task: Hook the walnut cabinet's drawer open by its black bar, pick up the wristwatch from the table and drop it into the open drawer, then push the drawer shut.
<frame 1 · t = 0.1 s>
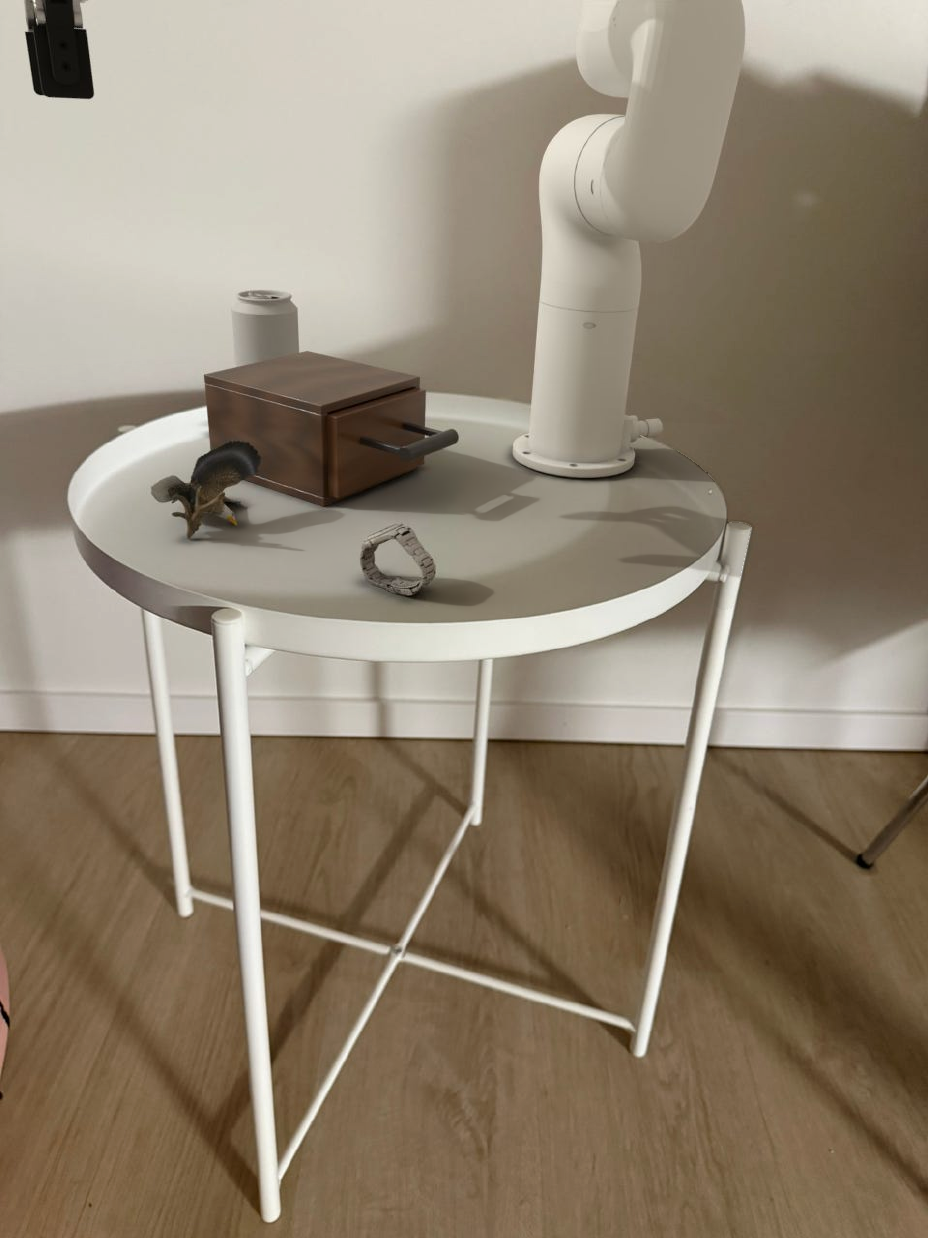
hand: (63, 96, 67), 31 cm above the table, tool pointing down, fingers open, 9 cm apart
drawer: (352, 433, 89), point 5 cm above the table, slide at 0.0 cm, touching cabinet
cabinet: (316, 468, 93), on the table
can: (269, 398, 115), on the table
eagle figurine: (213, 523, 81), on the table
wristwatch: (395, 591, 71), on the table
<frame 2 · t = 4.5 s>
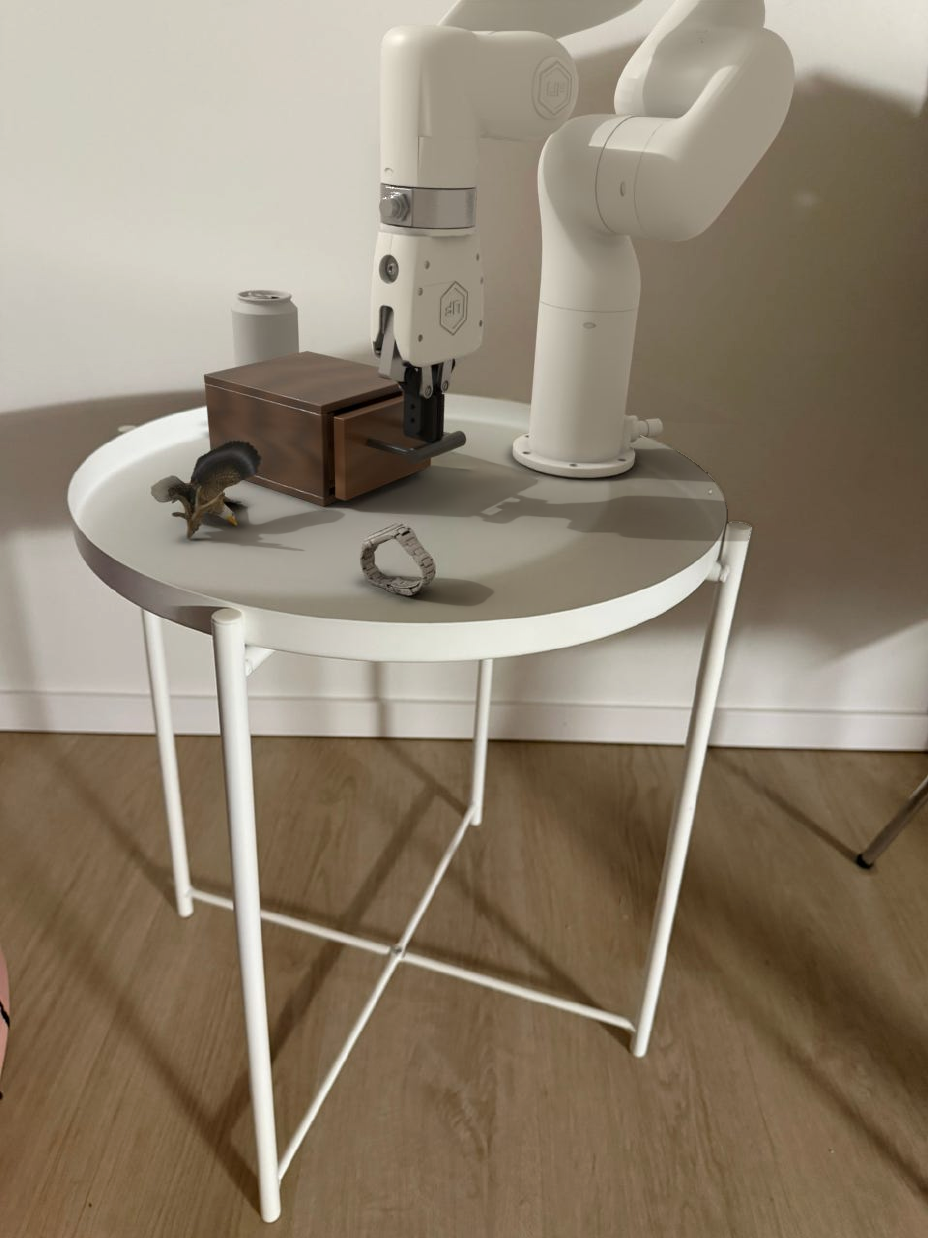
hand: (423, 437, 84), 6 cm above the table, tool pointing down, fingers closed
drawer: (358, 435, 88), point 5 cm above the table, slide at 0.8 cm, touching gripper
everything else where it was.
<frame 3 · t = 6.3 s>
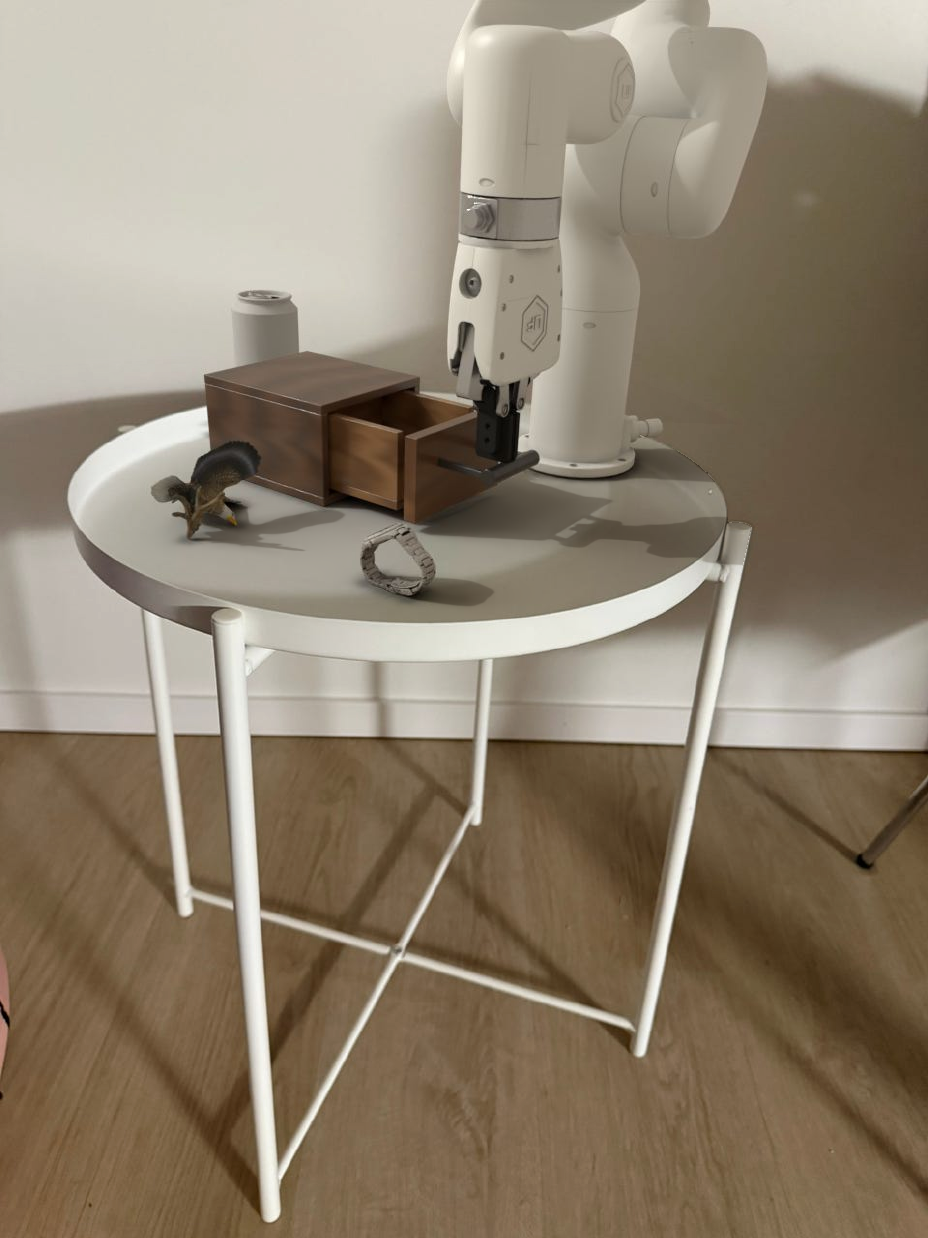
hand: (496, 457, 80), 6 cm above the table, tool pointing down, fingers closed
drawer: (425, 454, 85), point 5 cm above the table, slide at 8.6 cm, touching gripper
everything else where it was.
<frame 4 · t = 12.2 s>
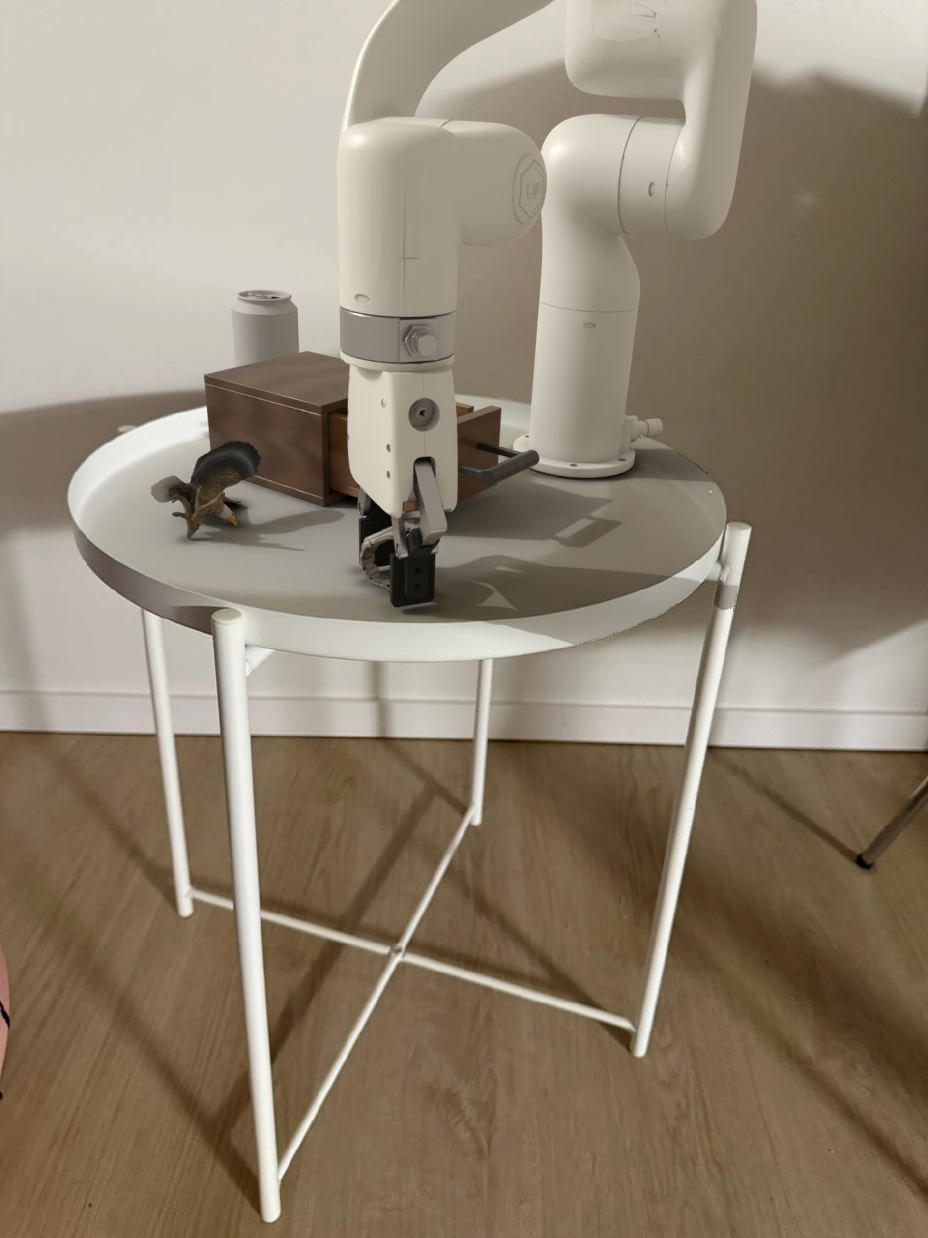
hand: (395, 581, 71), 1 cm above the table, tool pointing down, fingers closed on wristwatch, 5 cm apart
drawer: (424, 453, 85), point 5 cm above the table, slide at 8.5 cm
wristwatch: (395, 591, 71), on the table, touching gripper
everything else where it was.
when the fingers open (8 cm above the table, at t = 18.3 s): wristwatch drops 4 cm, resting on drawer.
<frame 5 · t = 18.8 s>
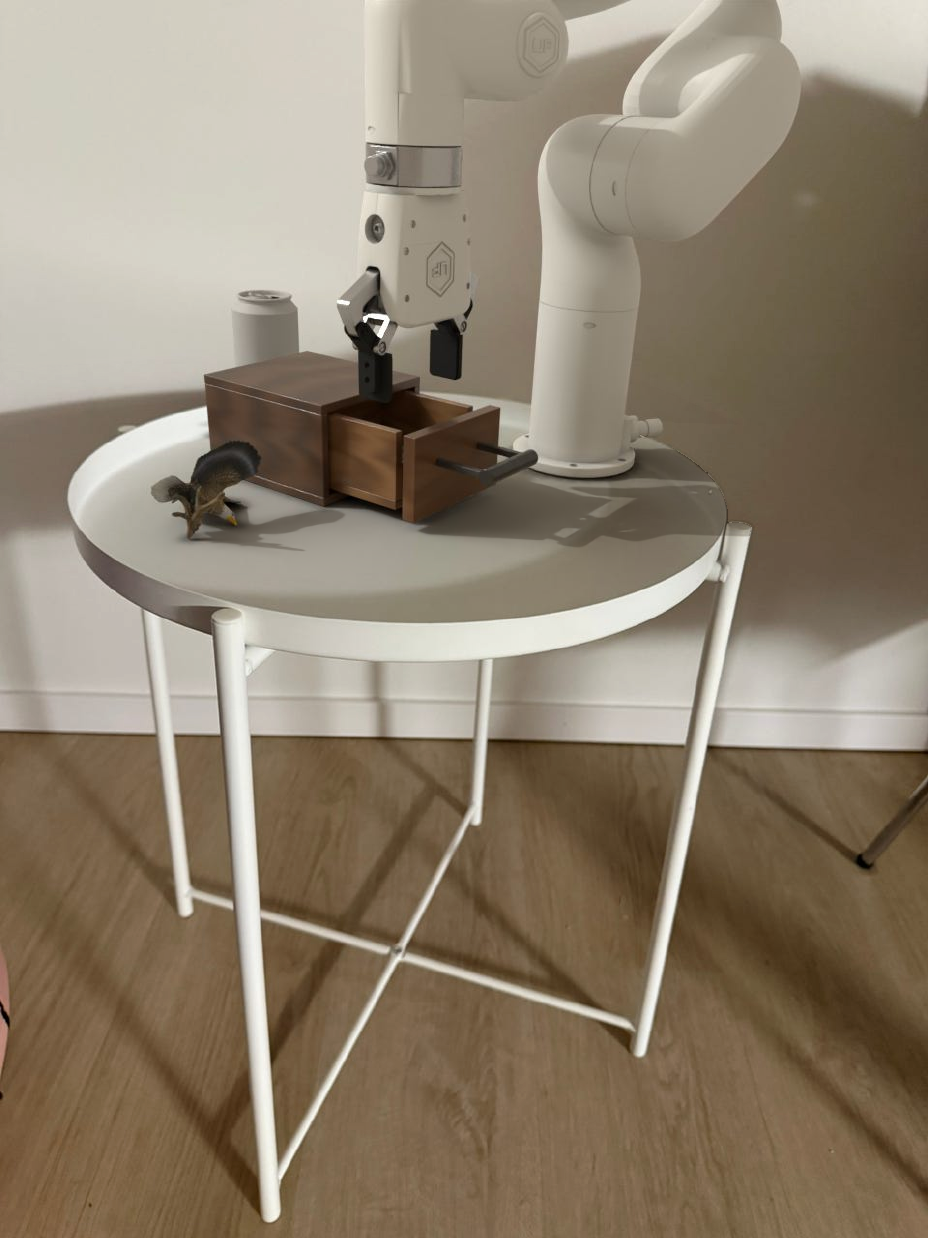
hand: (411, 387, 83), 10 cm above the table, tool pointing down, fingers open, 9 cm apart
drawer: (423, 453, 85), point 5 cm above the table, slide at 8.4 cm, touching wristwatch
wristwatch: (405, 468, 86), point 3 cm above the table, touching drawer
everything else where it was.
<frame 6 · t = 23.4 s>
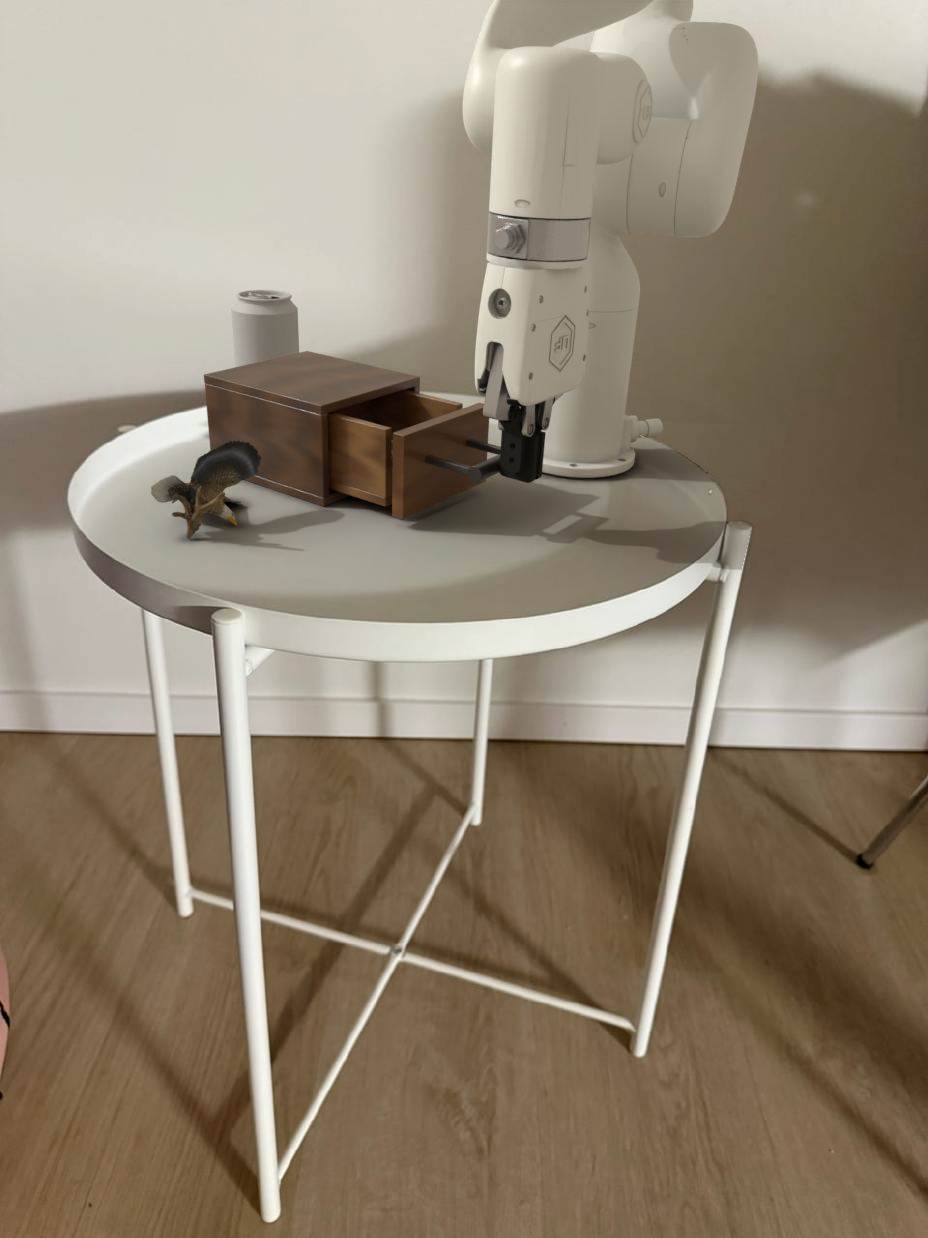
hand: (520, 476, 79), 5 cm above the table, tool pointing down, fingers closed
drawer: (413, 450, 85), point 5 cm above the table, slide at 7.3 cm, touching gripper, wristwatch
wristwatch: (395, 463, 87), point 3 cm above the table, touching drawer
everything else where it was.
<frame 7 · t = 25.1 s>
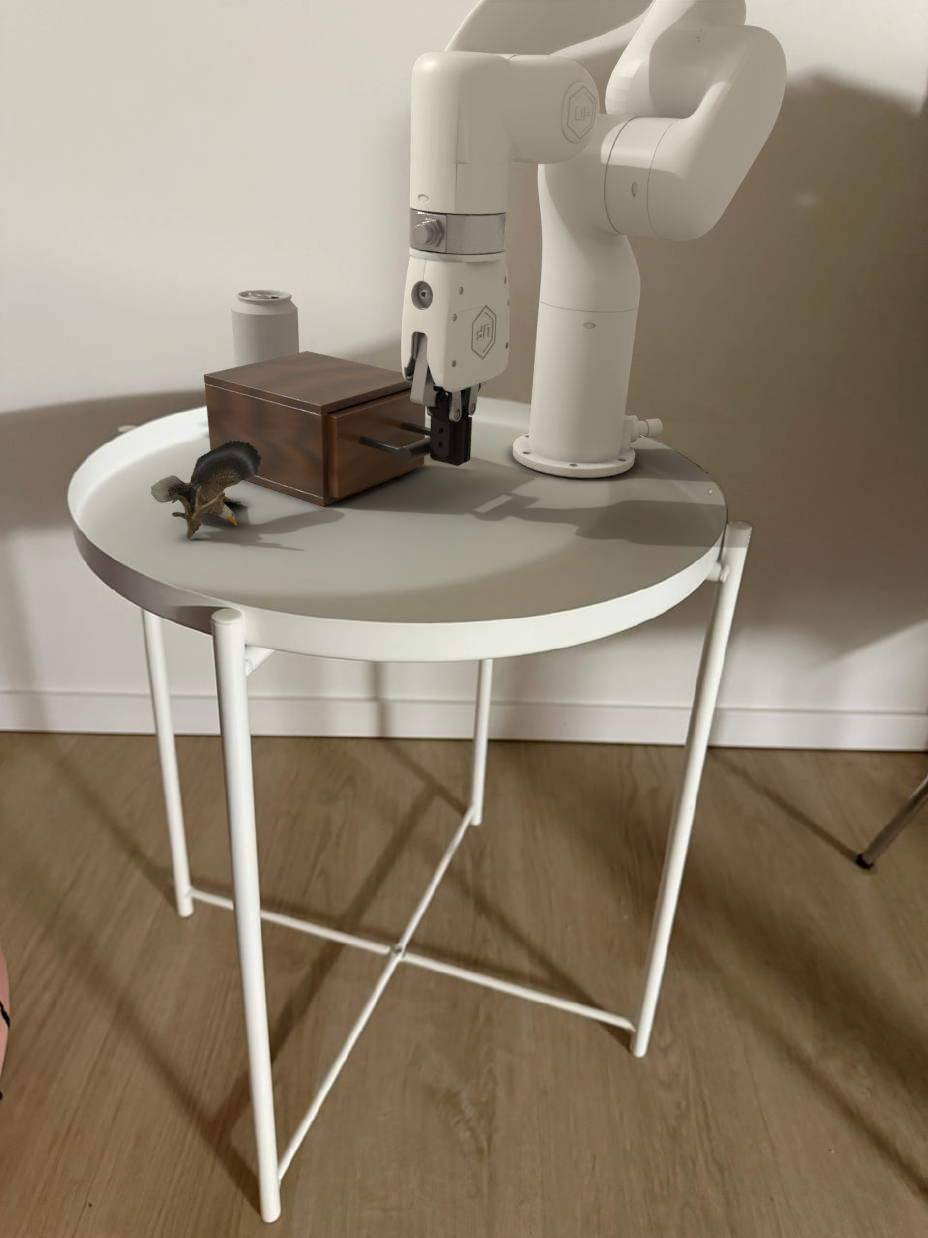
hand: (449, 460, 83), 5 cm above the table, tool pointing down, fingers closed
drawer: (352, 433, 89), point 5 cm above the table, slide at 0.0 cm, touching cabinet, gripper, wristwatch
wristwatch: (335, 446, 90), point 3 cm above the table, touching drawer
everything else where it was.
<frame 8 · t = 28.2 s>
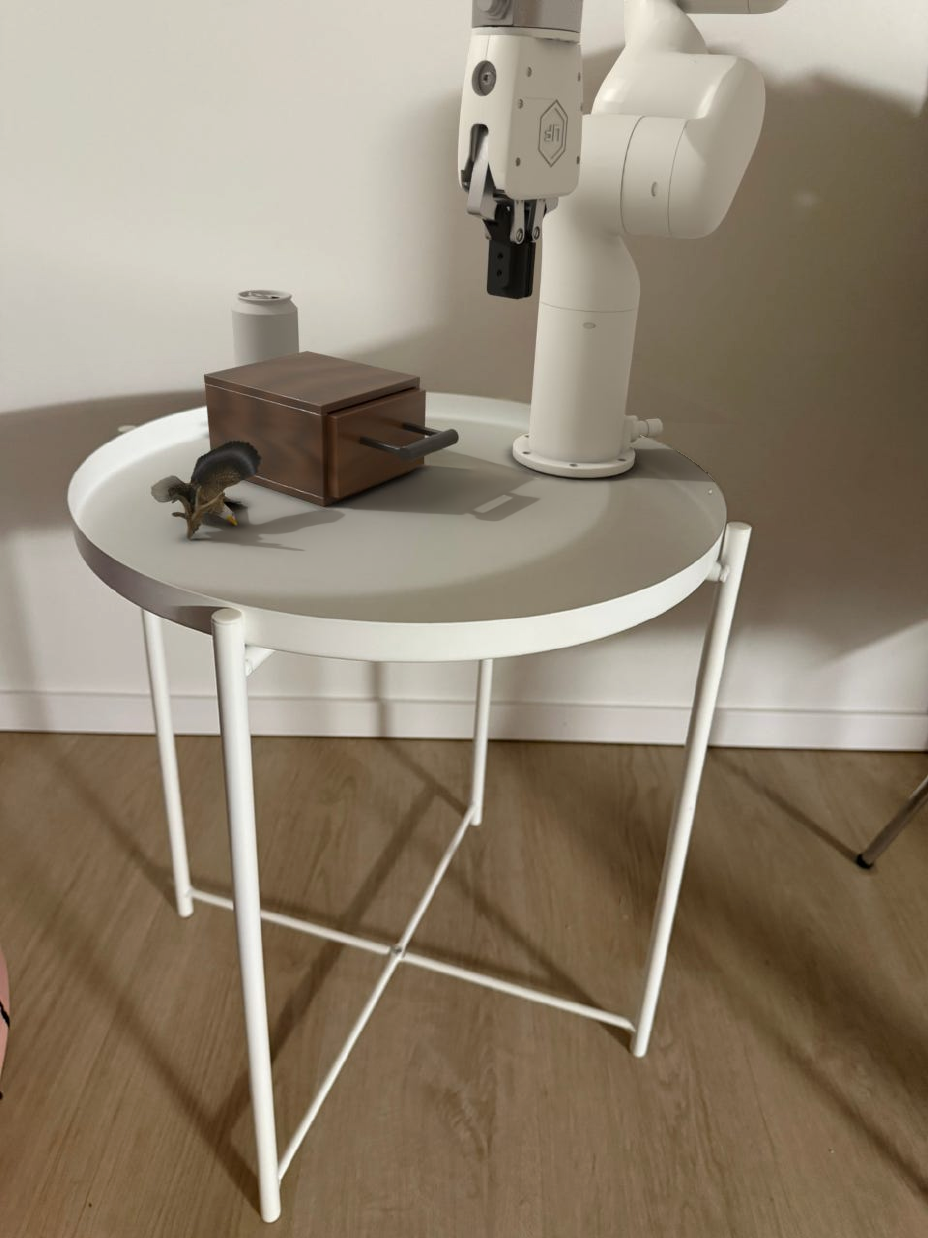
hand: (509, 295, 74), 19 cm above the table, tool pointing down, fingers closed
drawer: (352, 433, 89), point 5 cm above the table, slide at 0.0 cm, touching wristwatch
everything else where it was.
at the end: drawer pulled out 8.7 cm at the most during the clip, back to where it started at the end; wristwatch inside the target area in the cabinet (2.8 cm from its centre), point 3.0 cm above the cabinet's base; drawer slide at 0.0 cm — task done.
